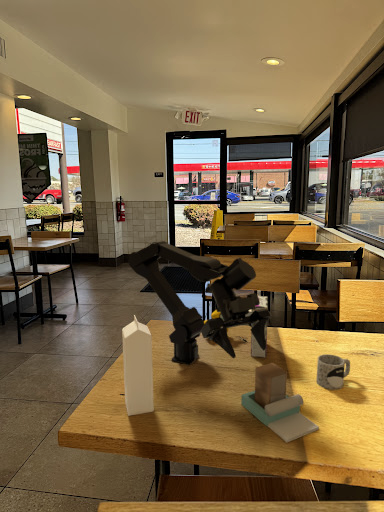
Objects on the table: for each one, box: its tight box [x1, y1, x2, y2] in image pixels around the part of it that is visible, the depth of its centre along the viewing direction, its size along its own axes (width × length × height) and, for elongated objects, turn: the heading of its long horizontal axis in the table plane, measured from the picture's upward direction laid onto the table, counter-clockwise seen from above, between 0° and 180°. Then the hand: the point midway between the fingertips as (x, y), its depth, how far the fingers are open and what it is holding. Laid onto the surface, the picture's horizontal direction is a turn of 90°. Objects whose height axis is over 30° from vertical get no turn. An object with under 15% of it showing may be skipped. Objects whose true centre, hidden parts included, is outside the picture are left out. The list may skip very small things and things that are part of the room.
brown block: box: [254, 362, 288, 410], centre depth 85 cm, size 5×5×10 cm
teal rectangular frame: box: [240, 390, 320, 443], centre depth 83 cm, size 16×10×5 cm, turn 28°
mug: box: [316, 353, 351, 391], centre depth 98 cm, size 10×7×7 cm, turn 114°
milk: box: [121, 314, 155, 417], centre depth 86 cm, size 6×6×22 cm
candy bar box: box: [250, 295, 269, 359], centre depth 116 cm, size 11×5×16 cm, turn 168°
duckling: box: [203, 309, 230, 333], centre depth 128 cm, size 11×5×10 cm, turn 107°
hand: (249, 353), depth 91 cm, fingers open, 9 cm apart
